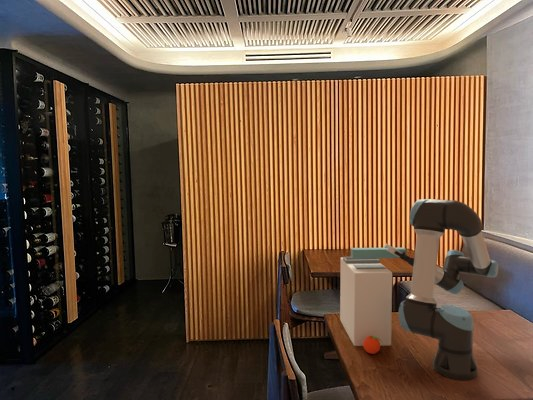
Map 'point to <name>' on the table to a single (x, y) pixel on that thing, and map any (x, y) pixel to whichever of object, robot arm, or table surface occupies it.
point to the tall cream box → (365, 299)
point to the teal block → (373, 253)
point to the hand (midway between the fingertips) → (386, 247)
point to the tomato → (371, 344)
